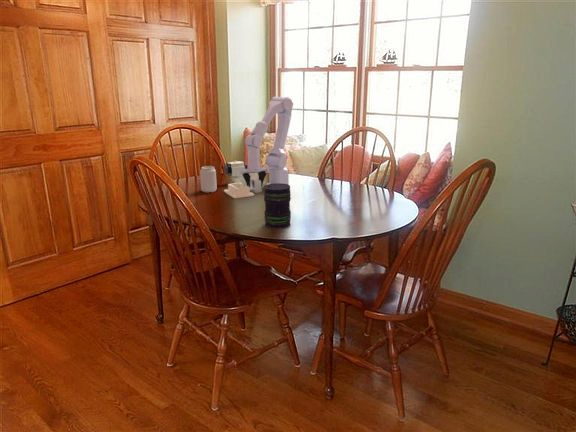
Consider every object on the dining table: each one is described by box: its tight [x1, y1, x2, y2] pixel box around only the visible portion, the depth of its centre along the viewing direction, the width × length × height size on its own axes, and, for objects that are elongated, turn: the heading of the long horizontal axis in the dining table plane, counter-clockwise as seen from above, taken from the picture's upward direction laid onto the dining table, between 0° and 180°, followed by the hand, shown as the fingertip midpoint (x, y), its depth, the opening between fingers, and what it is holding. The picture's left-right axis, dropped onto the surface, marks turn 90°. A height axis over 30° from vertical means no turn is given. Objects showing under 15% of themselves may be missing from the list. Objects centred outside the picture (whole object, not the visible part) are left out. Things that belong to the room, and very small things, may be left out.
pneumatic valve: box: [223, 159, 248, 184], centre depth 245 cm, size 6×12×12 cm, turn 126°
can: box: [199, 165, 218, 194], centre depth 229 cm, size 8×8×12 cm
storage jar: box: [263, 183, 292, 230], centre depth 177 cm, size 10×10×15 cm
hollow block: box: [223, 182, 255, 199], centre depth 225 cm, size 10×14×4 cm
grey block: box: [250, 176, 262, 194], centre depth 230 cm, size 4×8×6 cm, turn 26°
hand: (254, 187), depth 230 cm, fingers open, 6 cm apart
